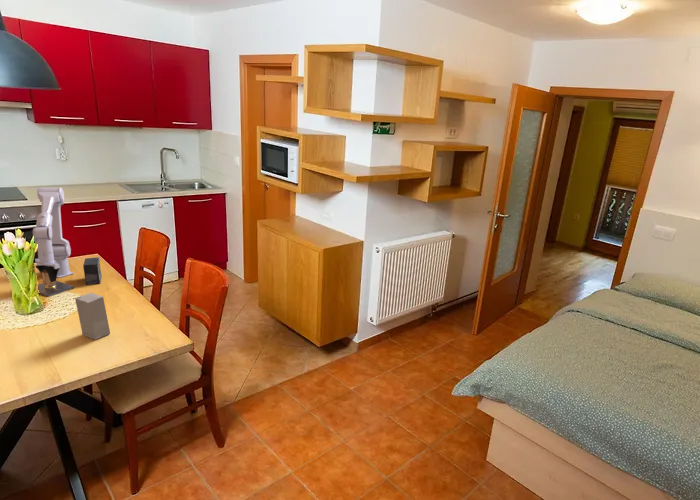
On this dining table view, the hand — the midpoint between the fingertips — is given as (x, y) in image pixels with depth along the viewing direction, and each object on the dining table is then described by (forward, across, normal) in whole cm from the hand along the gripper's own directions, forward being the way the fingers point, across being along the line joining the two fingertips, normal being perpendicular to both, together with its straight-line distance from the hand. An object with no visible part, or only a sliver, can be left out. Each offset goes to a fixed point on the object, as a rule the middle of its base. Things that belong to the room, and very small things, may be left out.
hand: (49, 280), depth 204 cm
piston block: (+4, 0, 0) cm, 4 cm away
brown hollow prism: (+1, 0, 0) cm, 1 cm away
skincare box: (+5, +55, -18) cm, 58 cm away
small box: (+5, +6, +17) cm, 19 cm away
